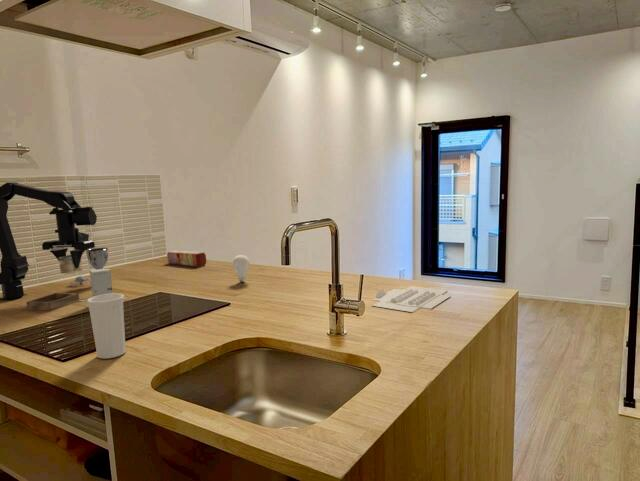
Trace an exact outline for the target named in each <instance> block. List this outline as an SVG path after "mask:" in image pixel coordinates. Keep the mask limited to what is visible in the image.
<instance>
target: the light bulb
mask: <svg viewBox="0 0 640 481" xmlns="http://www.w3.org/2000/svg"><path fill="white" fill-rule="evenodd" d="M232 267H233V269H234V270H235V272H236V275H237V278H238V282H240V283H244V282H245V281H246V279H247V278H246V275H247V271H248V269H249V267H250V259H249V258H248V257H247V256H246V255H244V254H243V255H242V254H238V255H236V256H235V257H234V258H233V259H232Z"/></svg>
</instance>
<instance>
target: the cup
mask: <svg viewBox="0 0 640 481" xmlns="http://www.w3.org/2000/svg"><path fill="white" fill-rule="evenodd" d="M88 298H89V299H88V300H86V305H87V308H88V309H89V314H90V315H89V316H90V321H91V327H92V333H93V339H94V344H95V349H96V356H97V358H99V359H112V358H113V359H114V358H117V357H120V356H122V355H123V354H125V353H126V336H125V335H126V334H125V316H124V315H125V313H124V312H125V311H124V301H125V295H124V294H123V293H114V292H113V293H111V294H102V295H97V296H94V297H93V296H91V298H90V297H88Z"/></svg>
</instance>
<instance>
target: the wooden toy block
mask: <svg viewBox="0 0 640 481" xmlns="http://www.w3.org/2000/svg"><path fill="white" fill-rule="evenodd" d="M58 263H59V269H60V274H70V275H71V274H75V273H79V272H82V271H83V266H82V259H81V260H80V264H79V268H75V266H74V263H73V260H72V257H71V254H68V255H67V254H66V256H63V257H59V261H58Z"/></svg>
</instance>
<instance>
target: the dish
mask: <svg viewBox="0 0 640 481" xmlns="http://www.w3.org/2000/svg"><path fill="white" fill-rule="evenodd" d="M75 280H76V279H73V280H71V281H69V282H68V283H69V287H75V288H77V287H78V288H79V287H85V286H89V285H91V278H85V281H84V282H82V284H81V285H80V283H79V282H76V281H75Z"/></svg>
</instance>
